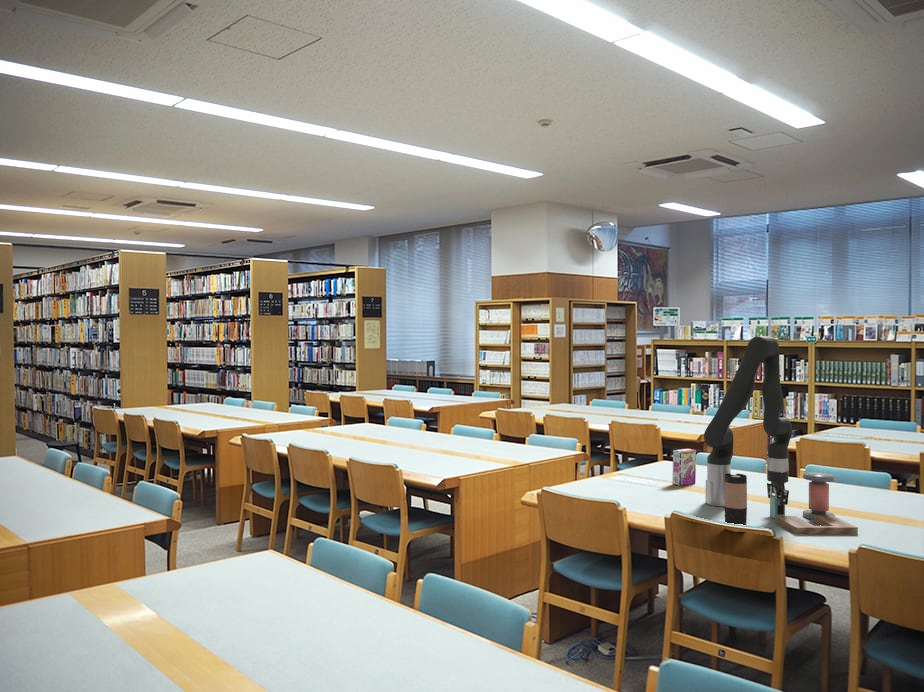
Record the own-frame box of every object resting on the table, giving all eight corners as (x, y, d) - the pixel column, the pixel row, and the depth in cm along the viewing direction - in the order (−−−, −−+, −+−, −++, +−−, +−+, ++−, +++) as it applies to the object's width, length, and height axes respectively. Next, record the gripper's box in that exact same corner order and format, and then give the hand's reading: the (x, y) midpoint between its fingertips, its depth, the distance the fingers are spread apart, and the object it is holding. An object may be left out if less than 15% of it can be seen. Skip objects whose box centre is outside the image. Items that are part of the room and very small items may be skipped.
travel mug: (739, 534, 243) (739, 478, 243) (720, 529, 250) (720, 474, 249) (751, 530, 248) (751, 475, 248) (732, 525, 254) (732, 472, 254)
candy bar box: (680, 486, 321) (680, 451, 320) (672, 484, 325) (672, 450, 325) (696, 483, 327) (696, 449, 326) (688, 481, 331) (688, 448, 331)
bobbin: (811, 521, 260) (811, 478, 260) (797, 513, 271) (797, 472, 271) (840, 521, 260) (840, 478, 260) (825, 513, 271) (825, 472, 271)
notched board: (795, 534, 243) (795, 527, 243) (775, 522, 259) (775, 515, 259) (857, 534, 243) (857, 527, 243) (833, 522, 259) (833, 515, 259)
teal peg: (774, 518, 264) (774, 498, 264) (770, 516, 268) (770, 495, 268) (784, 518, 264) (785, 498, 264) (780, 516, 268) (780, 495, 268)
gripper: (760, 465, 273) (759, 508, 273) (776, 472, 258) (776, 517, 258) (778, 465, 273) (778, 508, 273) (796, 472, 258) (796, 517, 258)
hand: (777, 512), depth 266 cm, fingers open, 5 cm apart
